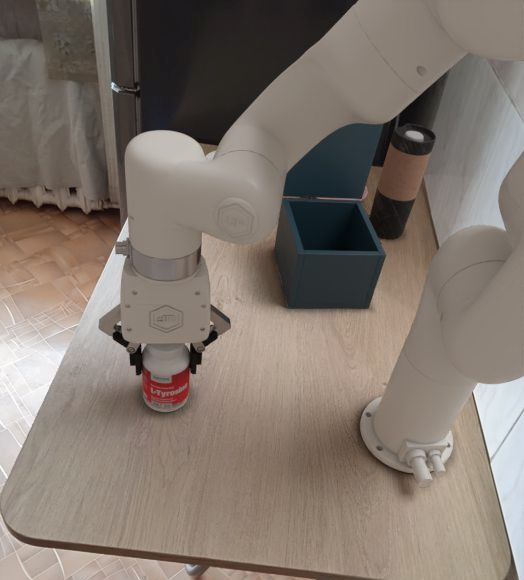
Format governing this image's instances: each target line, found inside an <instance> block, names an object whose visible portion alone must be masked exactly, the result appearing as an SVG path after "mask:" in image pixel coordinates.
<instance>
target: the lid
mask: <svg viewBox="0 0 524 580" xmlns="http://www.w3.org/2000/svg"><path fill="white" fill-rule="evenodd" d="M384 124H385V123H384ZM384 124H364V123H353V124H349V125H346V126H343V127H341V128H339V129H337V130H335V131H334V132H332V133H331V134H329V135H328V136H326V137H325V138H324V139H323V140H321V141H320V142H319V143H318V144H317V145H315V146H314V147H313V148H312V149H311V150H310V151H309V152H308V153H306V154H305V155H304V156H303V157H302V158H301V159H300V160H299V161H298V162H297V163H296V164H295V165H294V166H293V167H292V168H291V169H290V170H289V171H288V173H287V174H286V179H285V185H284V190H283V197H287V198H312V197H316V198H344V199H362V196H363V193H364V190H365V186H366V187H367V182H368V180H369V176H370V173H371V169H372V165H373V162H374V159H375V156H376V152H377V148H378V146H379V142H380V138H381V136H382V131H383V128H384Z"/></svg>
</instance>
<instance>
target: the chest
mask: <svg viewBox="0 0 524 580" xmlns="http://www.w3.org/2000/svg"><path fill="white" fill-rule="evenodd" d="M369 217H370V216H368V213H367V211H366V209H365V207H364V205H363V203H362V201H360V200H336V199H313V198H309V197H282V203H281V209H280V214H279V219H278V221H277V226H276V227H277V228H276V233H275V239H274V240H275V241H274V246H273V253H274V257H275V258H274V259H275V262H276V265H277V269H278V274H279V277H280V282H281V286H282V289H283V294H284V298H285V303H286V306H287V309H370V306H371V303H372V300H373V297H374V294H375V291H376V288H377V284H378V282H379V279H380V276H381V273H382V269H383V266H384V263H385V261H386V258H387V254H386V251H385V250H384V247H383V245H382V243H381V241H380V238H379V237H378V236H377V234H376V232H375V230H374V228H373V226H372V224H371V222H370V220H369Z"/></svg>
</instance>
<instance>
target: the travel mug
mask: <svg viewBox="0 0 524 580" xmlns="http://www.w3.org/2000/svg"><path fill="white" fill-rule="evenodd" d="M436 139H437V135H436V133H435V132H434V131H433V130H431V129H429V127H428V128H427V127H425V126H423V125H419V124H416V123H406V124H404V125H403V126H399V127H398V125H396V126H394V129H393V132H392V134H391V139H390V142H389V146H388V149H387V151H386V156H385V159H384V162H383V166H382V169H381V173H380V175H379V179H378V182H377V186H376V188H375V189H376V190H375V194H374V197H373V202H372V205H371V209H370V213H369V216H368V217H369V220H370V222H371V224H372V226H373V228H374V230H375V232H376V234H377V237H378V238H381V239H384V240H396V239H398V238H400V237H401V236H402V235H403V232H404V231H405V229H406V228H405V227H406V225H407V222H408V220H409V218H410V215H411V212H412V210H413V207H414V204H415V201H416V199H417V196H418V194H419V191H420V187H421V185H422V181H423V179H424V176H425V173H426V169H427V166H428V163H429V161H430V158H431V155H432V152H433V149H434V146H435V143H436Z"/></svg>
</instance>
